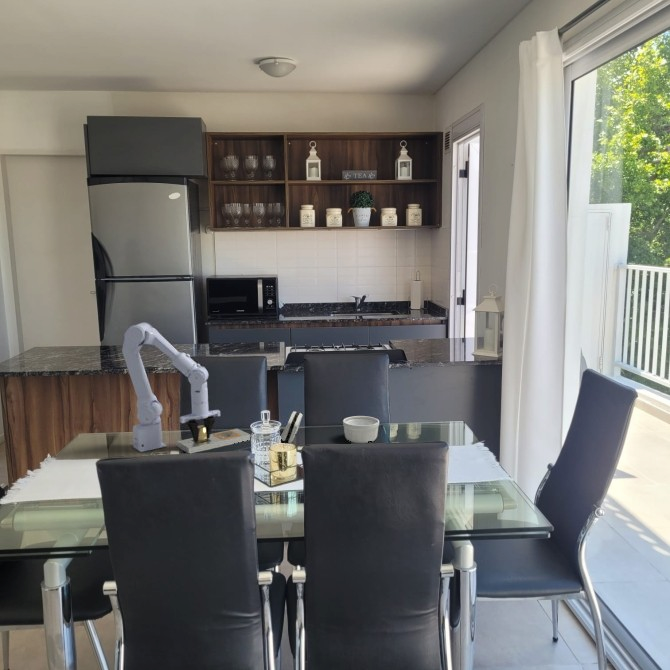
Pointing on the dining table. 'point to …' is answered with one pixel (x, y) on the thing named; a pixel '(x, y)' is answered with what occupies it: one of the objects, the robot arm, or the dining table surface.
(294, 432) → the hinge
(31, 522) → the dining table surface
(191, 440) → the grey rectangular board
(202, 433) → the peg
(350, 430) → the ramekin
